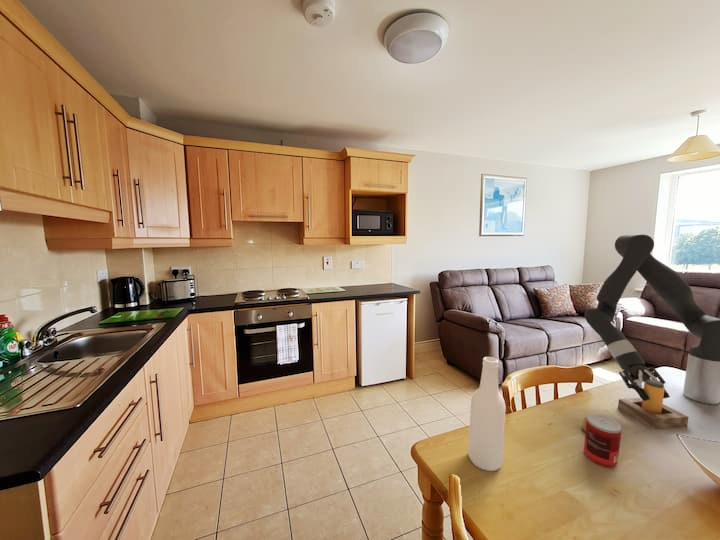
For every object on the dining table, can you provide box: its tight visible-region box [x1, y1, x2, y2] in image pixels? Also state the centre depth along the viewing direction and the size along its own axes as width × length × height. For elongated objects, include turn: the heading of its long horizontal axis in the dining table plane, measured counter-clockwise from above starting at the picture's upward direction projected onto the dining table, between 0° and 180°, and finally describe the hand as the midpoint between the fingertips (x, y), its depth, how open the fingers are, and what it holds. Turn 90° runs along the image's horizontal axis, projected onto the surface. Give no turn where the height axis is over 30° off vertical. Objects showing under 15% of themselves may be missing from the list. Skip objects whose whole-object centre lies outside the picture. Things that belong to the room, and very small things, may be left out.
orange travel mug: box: [641, 380, 666, 414], centre depth 103 cm, size 5×5×13 cm
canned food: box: [583, 413, 622, 468], centre depth 83 cm, size 8×8×11 cm
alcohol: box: [467, 356, 507, 472], centre depth 81 cm, size 9×9×30 cm
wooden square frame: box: [617, 397, 689, 430], centre depth 103 cm, size 13×12×4 cm
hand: (656, 398), depth 101 cm, fingers open, 8 cm apart
